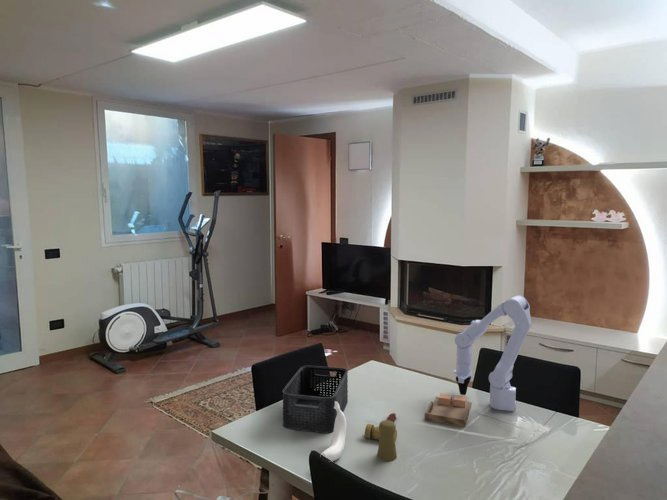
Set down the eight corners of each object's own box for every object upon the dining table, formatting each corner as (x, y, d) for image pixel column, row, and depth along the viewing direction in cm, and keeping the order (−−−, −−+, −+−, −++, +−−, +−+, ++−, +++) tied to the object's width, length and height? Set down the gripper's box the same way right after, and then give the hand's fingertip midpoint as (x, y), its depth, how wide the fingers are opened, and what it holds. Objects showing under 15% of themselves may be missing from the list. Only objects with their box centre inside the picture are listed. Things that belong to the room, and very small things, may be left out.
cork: (396, 451, 147) (396, 418, 146) (397, 461, 141) (397, 427, 140) (377, 450, 148) (377, 417, 147) (377, 460, 142) (377, 426, 141)
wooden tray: (472, 404, 182) (472, 396, 181) (464, 429, 162) (465, 420, 161) (436, 398, 187) (436, 390, 187) (424, 421, 167) (424, 413, 167)
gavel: (382, 405, 174) (408, 410, 170) (381, 417, 174) (407, 422, 170) (364, 426, 155) (394, 432, 151) (364, 440, 155) (393, 446, 151)
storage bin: (333, 435, 158) (333, 397, 157) (279, 429, 162) (279, 392, 161) (349, 400, 186) (349, 368, 185) (302, 396, 190) (302, 364, 189)
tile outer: (451, 400, 183) (452, 394, 183) (450, 405, 179) (450, 399, 179) (440, 399, 185) (440, 393, 184) (438, 403, 181) (438, 397, 180)
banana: (320, 471, 136) (319, 423, 135) (334, 439, 155) (334, 397, 153) (336, 473, 135) (336, 425, 134) (348, 441, 154) (348, 398, 152)
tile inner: (466, 402, 181) (466, 396, 181) (465, 407, 177) (465, 401, 177) (455, 400, 183) (455, 394, 183) (453, 405, 179) (453, 399, 179)
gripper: (456, 354, 194) (455, 386, 196) (450, 366, 181) (449, 399, 182) (473, 357, 192) (473, 388, 193) (469, 368, 178) (468, 402, 180)
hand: (463, 394), depth 187 cm, fingers closed
